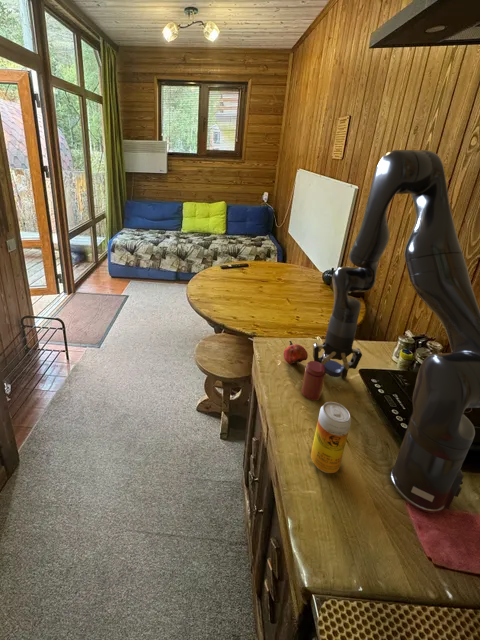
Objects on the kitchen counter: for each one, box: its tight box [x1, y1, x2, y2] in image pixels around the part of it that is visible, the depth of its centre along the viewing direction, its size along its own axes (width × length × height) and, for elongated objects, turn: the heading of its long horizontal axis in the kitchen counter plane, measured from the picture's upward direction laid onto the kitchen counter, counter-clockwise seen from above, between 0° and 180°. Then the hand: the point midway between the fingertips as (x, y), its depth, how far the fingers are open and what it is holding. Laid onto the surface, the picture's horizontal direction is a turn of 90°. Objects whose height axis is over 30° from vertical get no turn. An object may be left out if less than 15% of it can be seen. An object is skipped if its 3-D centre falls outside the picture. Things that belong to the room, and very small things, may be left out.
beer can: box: [310, 401, 352, 474], centre depth 67 cm, size 6×6×15 cm
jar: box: [300, 360, 326, 401], centre depth 88 cm, size 5×5×10 cm
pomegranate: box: [283, 340, 309, 372], centre depth 101 cm, size 7×7×10 cm
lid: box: [324, 359, 343, 378], centre depth 96 cm, size 6×6×2 cm
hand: (331, 374), depth 97 cm, fingers closed on lid, 5 cm apart
